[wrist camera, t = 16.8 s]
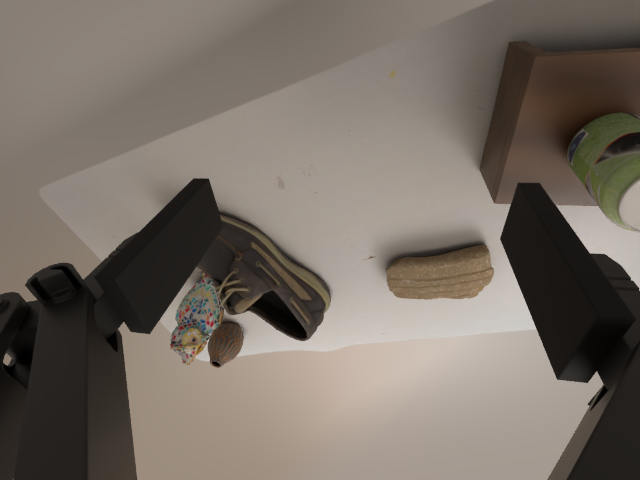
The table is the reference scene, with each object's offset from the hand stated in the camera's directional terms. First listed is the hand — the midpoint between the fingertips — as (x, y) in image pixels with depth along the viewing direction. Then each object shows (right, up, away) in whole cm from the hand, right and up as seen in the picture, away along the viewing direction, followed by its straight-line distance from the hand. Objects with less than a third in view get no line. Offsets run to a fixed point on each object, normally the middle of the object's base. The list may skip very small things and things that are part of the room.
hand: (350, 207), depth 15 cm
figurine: (-21, -10, +50) cm, 56 cm away
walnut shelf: (+25, +12, +22) cm, 35 cm away
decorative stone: (+17, -6, +38) cm, 42 cm away
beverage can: (+24, +8, +16) cm, 29 cm away
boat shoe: (-11, -4, +43) cm, 45 cm away
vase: (-20, -21, +58) cm, 65 cm away
